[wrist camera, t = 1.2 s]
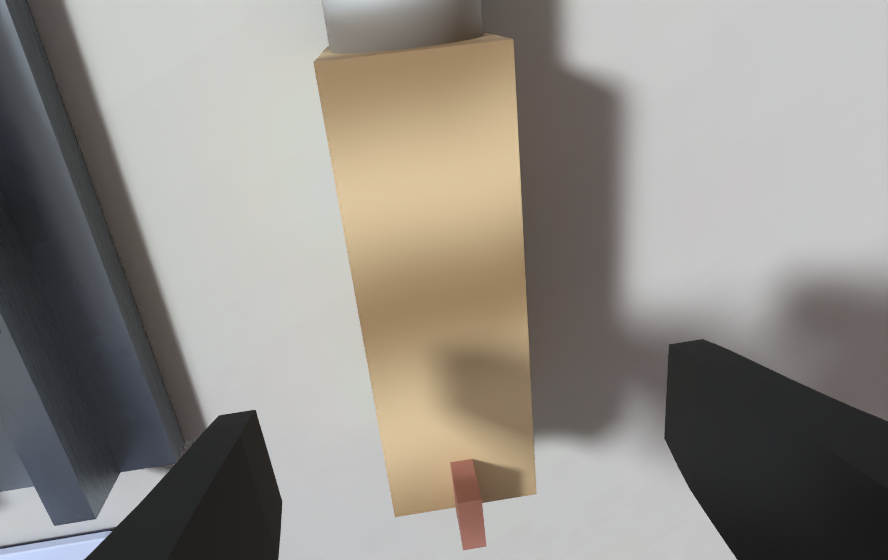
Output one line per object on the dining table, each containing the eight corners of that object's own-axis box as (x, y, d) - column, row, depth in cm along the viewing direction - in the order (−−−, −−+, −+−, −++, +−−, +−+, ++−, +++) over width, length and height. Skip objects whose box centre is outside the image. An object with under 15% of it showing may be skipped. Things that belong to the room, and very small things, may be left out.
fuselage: (501, 392, 22) (550, 535, 16) (388, 409, 22) (397, 561, 16) (467, -54, 16) (526, -86, 10) (314, -37, 16) (283, -61, 10)
